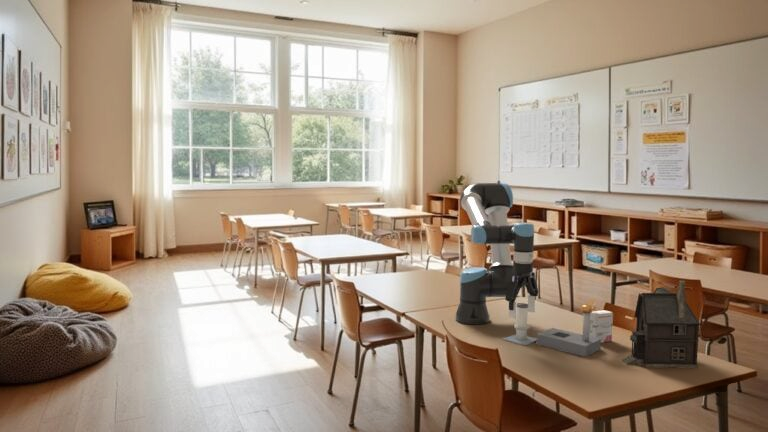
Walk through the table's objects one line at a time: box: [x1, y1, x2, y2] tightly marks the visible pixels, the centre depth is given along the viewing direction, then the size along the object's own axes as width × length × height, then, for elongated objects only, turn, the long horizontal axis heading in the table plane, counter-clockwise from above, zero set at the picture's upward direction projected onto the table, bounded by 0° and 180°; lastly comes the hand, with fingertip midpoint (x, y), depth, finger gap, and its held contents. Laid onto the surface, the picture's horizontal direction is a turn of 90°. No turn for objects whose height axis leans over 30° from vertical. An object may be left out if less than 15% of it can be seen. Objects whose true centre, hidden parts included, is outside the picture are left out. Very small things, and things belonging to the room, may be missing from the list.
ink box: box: [589, 309, 614, 343], centre depth 221 cm, size 9×5×12 cm, turn 112°
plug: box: [513, 302, 530, 340], centre depth 222 cm, size 6×6×14 cm
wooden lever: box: [581, 298, 598, 314], centre depth 213 cm, size 16×4×5 cm, turn 149°
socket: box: [536, 312, 602, 358], centre depth 214 cm, size 20×12×15 cm, turn 44°
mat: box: [503, 333, 537, 346], centre depth 222 cm, size 10×10×1 cm
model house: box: [621, 280, 702, 369], centre depth 199 cm, size 16×23×30 cm
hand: (521, 314), depth 222 cm, fingers open, 13 cm apart
